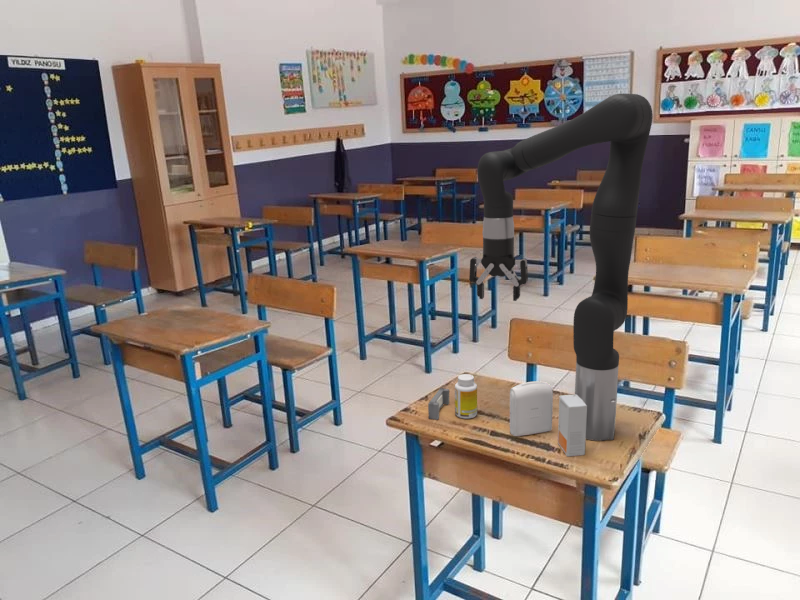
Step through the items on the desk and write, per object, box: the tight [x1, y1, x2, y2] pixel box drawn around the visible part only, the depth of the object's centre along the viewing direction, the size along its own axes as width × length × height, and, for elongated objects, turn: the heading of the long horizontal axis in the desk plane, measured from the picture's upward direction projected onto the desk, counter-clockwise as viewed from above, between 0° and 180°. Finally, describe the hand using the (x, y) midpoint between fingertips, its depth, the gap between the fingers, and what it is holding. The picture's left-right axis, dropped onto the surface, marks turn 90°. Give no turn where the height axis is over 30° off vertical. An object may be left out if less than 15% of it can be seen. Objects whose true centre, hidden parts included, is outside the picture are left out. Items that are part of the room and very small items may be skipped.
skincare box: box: [557, 393, 587, 457], centre depth 138 cm, size 6×4×12 cm
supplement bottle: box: [454, 373, 478, 420], centre depth 156 cm, size 6×6×10 cm
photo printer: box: [509, 380, 554, 437], centre depth 147 cm, size 10×4×12 cm, turn 103°
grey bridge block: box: [427, 387, 450, 421], centre depth 160 cm, size 2×10×4 cm, turn 159°
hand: (498, 299), depth 157 cm, fingers open, 8 cm apart
